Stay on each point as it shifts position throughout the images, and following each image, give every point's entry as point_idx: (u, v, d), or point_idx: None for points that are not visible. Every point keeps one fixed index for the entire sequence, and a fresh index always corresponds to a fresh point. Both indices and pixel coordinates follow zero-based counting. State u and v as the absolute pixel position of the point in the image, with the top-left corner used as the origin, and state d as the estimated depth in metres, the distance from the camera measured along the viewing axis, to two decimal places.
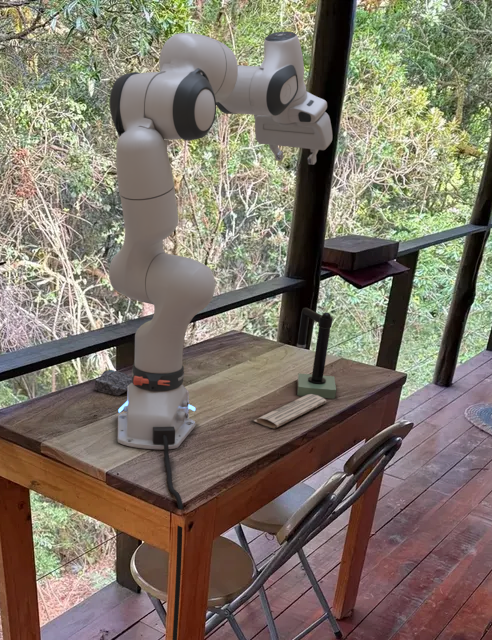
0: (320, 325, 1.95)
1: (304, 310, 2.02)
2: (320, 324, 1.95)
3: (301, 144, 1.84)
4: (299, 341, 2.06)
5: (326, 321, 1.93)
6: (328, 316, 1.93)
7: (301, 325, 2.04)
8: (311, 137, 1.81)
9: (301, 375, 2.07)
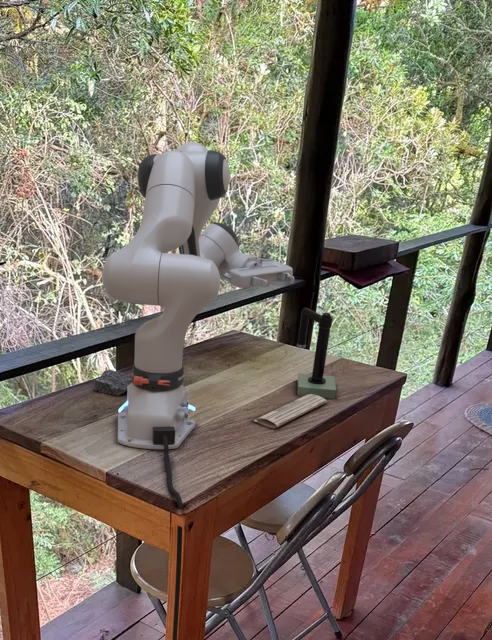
0: (320, 325, 1.95)
1: (304, 310, 2.02)
2: (320, 324, 1.95)
3: (275, 269, 2.12)
4: (299, 341, 2.06)
5: (326, 321, 1.93)
6: (328, 316, 1.93)
7: (301, 325, 2.04)
8: (278, 267, 2.15)
9: (301, 375, 2.07)
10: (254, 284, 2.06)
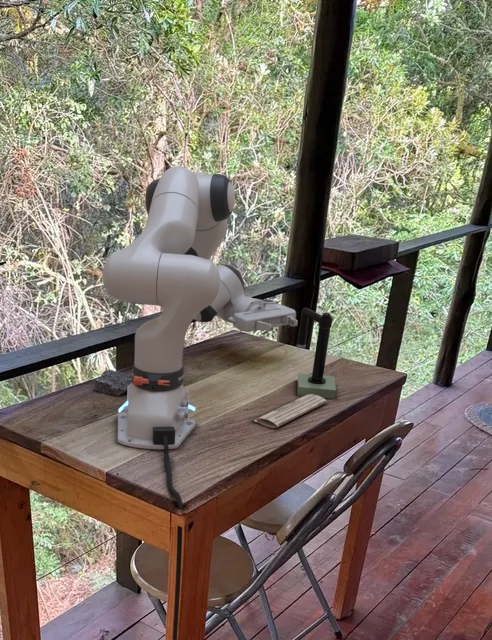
0: (320, 325, 1.95)
1: (304, 310, 2.02)
2: (320, 324, 1.95)
3: (278, 313, 2.15)
4: (299, 341, 2.06)
5: (326, 321, 1.93)
6: (328, 316, 1.93)
7: (301, 325, 2.04)
8: (281, 310, 2.18)
9: (301, 375, 2.07)
10: (258, 328, 2.10)
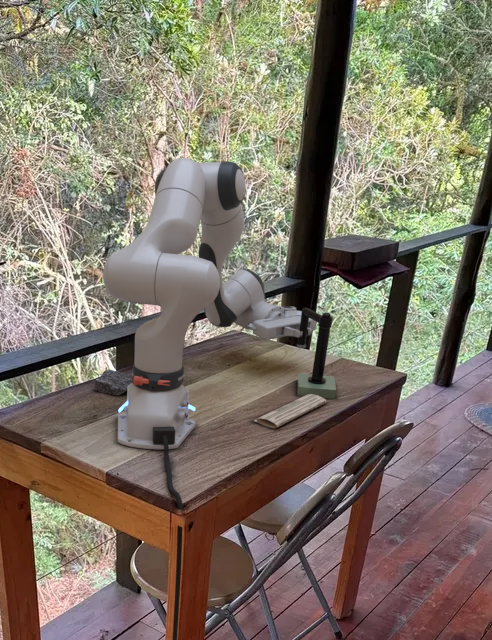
0: (320, 325, 1.95)
1: (304, 310, 2.02)
2: (320, 324, 1.95)
3: (299, 320, 2.10)
4: (299, 341, 2.06)
5: (326, 321, 1.93)
6: (328, 316, 1.93)
7: (301, 325, 2.04)
8: None
9: (301, 375, 2.07)
10: (287, 334, 2.06)
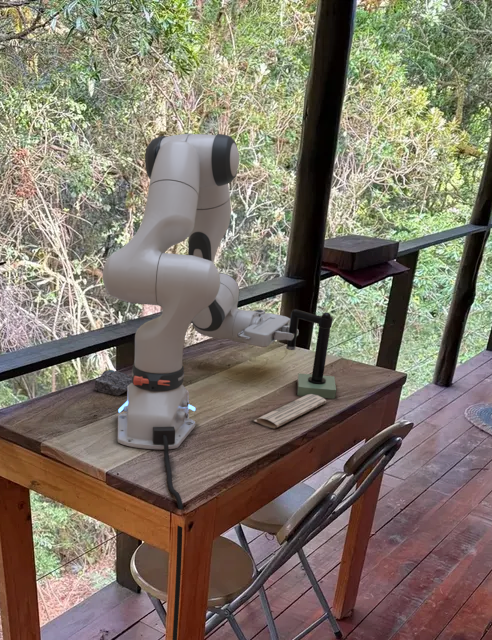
0: (322, 326, 1.94)
1: (295, 312, 2.00)
2: (322, 325, 1.94)
3: (280, 322, 2.07)
4: (290, 343, 2.04)
5: (328, 321, 1.94)
6: (329, 316, 1.94)
7: (292, 327, 2.02)
8: (277, 319, 2.10)
9: (301, 375, 2.07)
10: (279, 338, 2.02)
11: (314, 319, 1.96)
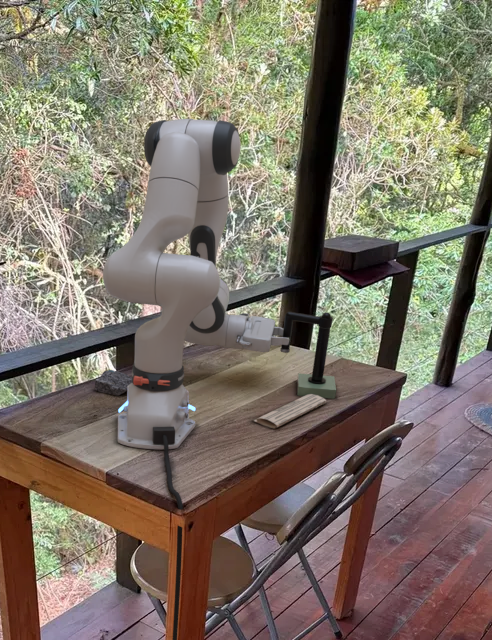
0: (324, 326, 1.94)
1: (290, 314, 1.98)
2: (324, 325, 1.94)
3: (270, 325, 2.04)
4: (285, 346, 2.02)
5: (330, 321, 1.94)
6: (330, 316, 1.94)
7: (287, 330, 2.00)
8: (264, 322, 2.07)
9: (301, 375, 2.07)
10: (275, 344, 1.98)
11: (313, 320, 1.95)
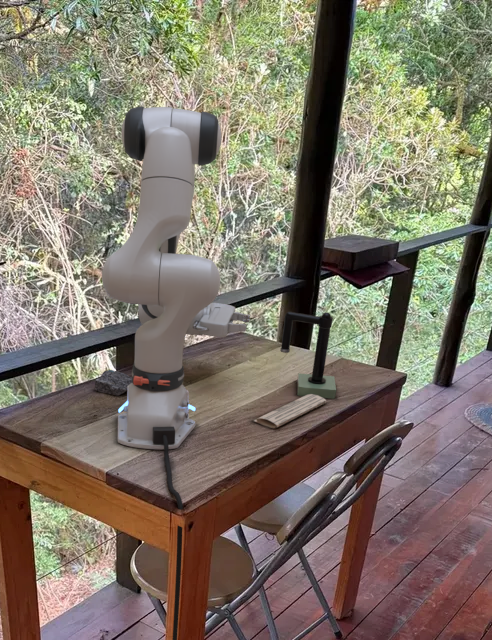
0: (324, 326, 1.94)
1: (290, 314, 1.98)
2: (324, 325, 1.94)
3: (229, 311, 2.04)
4: (285, 346, 2.02)
5: (330, 321, 1.94)
6: (330, 316, 1.94)
7: (287, 330, 2.00)
8: (223, 308, 2.07)
9: (301, 375, 2.07)
10: (232, 330, 1.97)
11: (313, 320, 1.95)
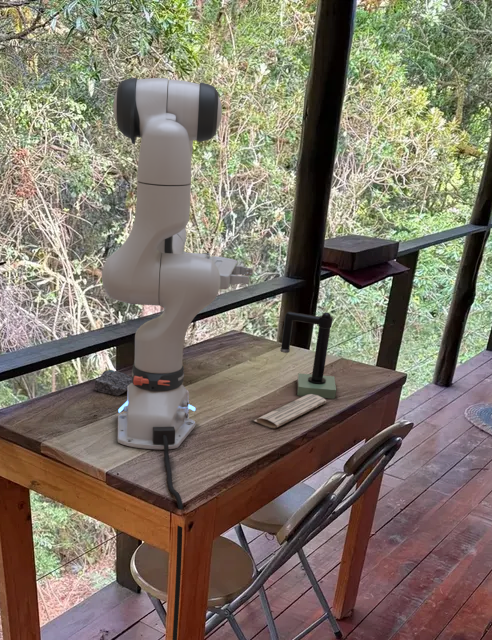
0: (324, 326, 1.94)
1: (290, 314, 1.98)
2: (324, 325, 1.94)
3: (231, 264, 1.98)
4: (285, 346, 2.02)
5: (330, 321, 1.94)
6: (330, 316, 1.94)
7: (287, 330, 2.00)
8: (225, 261, 2.00)
9: (301, 375, 2.07)
10: (234, 283, 1.90)
11: (313, 320, 1.95)
